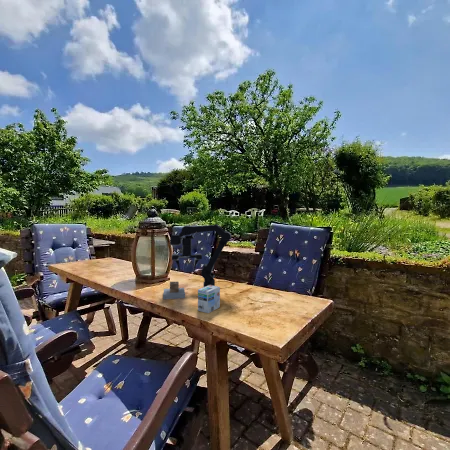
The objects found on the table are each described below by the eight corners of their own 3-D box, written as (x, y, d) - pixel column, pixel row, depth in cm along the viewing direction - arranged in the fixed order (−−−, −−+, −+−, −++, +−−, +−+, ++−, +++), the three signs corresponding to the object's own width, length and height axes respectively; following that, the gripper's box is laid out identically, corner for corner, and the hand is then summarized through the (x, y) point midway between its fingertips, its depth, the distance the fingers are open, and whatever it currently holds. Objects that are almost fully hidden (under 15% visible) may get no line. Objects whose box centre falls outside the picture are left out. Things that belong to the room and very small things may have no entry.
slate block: (183, 292, 160) (183, 287, 159) (185, 298, 148) (185, 293, 148) (163, 293, 157) (163, 288, 157) (163, 300, 145) (163, 294, 145)
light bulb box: (208, 313, 125) (208, 291, 125) (197, 310, 129) (197, 289, 128) (220, 307, 134) (220, 286, 134) (209, 304, 138) (209, 284, 137)
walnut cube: (178, 289, 155) (178, 281, 155) (178, 292, 150) (178, 283, 150) (169, 290, 154) (169, 281, 154) (169, 292, 149) (169, 284, 149)
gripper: (200, 243, 174) (200, 267, 175) (171, 244, 171) (171, 267, 171) (202, 246, 163) (202, 270, 164) (171, 246, 160) (171, 271, 160)
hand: (186, 270), depth 165 cm, fingers open, 9 cm apart
